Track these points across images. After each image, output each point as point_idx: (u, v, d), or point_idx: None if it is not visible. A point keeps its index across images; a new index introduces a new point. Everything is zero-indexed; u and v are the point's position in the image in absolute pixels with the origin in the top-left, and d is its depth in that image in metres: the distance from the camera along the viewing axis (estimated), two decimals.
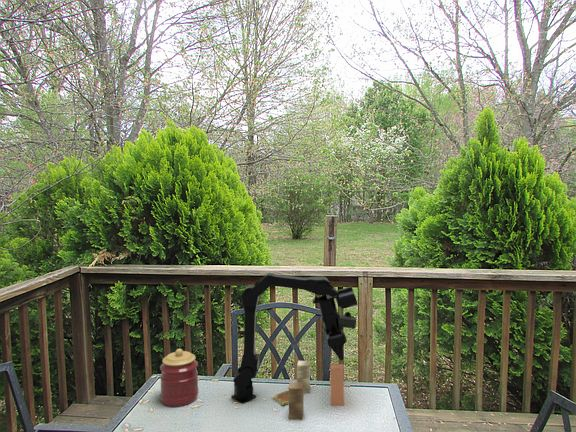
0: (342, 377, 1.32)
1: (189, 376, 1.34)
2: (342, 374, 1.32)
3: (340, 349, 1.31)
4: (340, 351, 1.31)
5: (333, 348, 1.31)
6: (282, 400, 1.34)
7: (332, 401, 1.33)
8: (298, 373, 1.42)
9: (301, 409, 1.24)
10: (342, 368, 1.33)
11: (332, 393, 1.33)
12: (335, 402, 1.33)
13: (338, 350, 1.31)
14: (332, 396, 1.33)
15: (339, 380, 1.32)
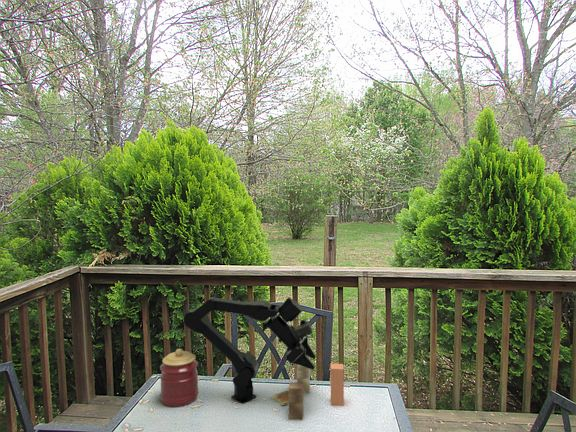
0: (342, 377, 1.32)
1: (189, 376, 1.34)
2: (342, 374, 1.32)
3: (305, 360, 1.30)
4: (306, 362, 1.30)
5: (298, 362, 1.30)
6: (282, 400, 1.34)
7: (332, 401, 1.33)
8: (298, 373, 1.42)
9: (301, 409, 1.24)
10: (342, 368, 1.33)
11: (332, 393, 1.33)
12: (335, 402, 1.33)
13: (304, 362, 1.30)
14: (332, 396, 1.33)
15: (339, 380, 1.32)
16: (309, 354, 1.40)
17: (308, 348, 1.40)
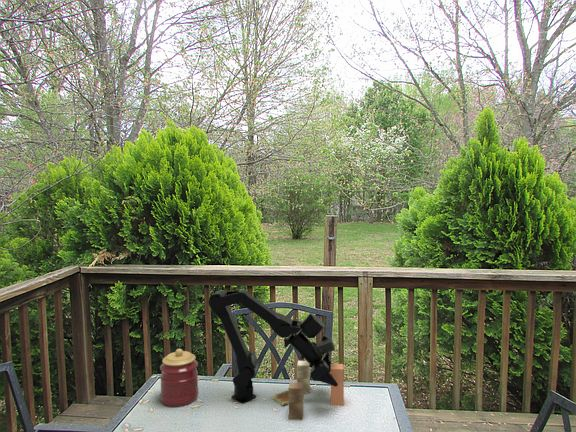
0: (342, 377, 1.32)
1: (189, 376, 1.34)
2: (342, 374, 1.32)
3: (329, 377, 1.29)
4: (330, 379, 1.29)
5: (322, 380, 1.29)
6: (282, 400, 1.34)
7: (332, 401, 1.33)
8: (298, 373, 1.42)
9: (301, 409, 1.24)
10: (342, 368, 1.33)
11: (332, 393, 1.33)
12: (335, 402, 1.33)
13: (327, 379, 1.29)
14: (332, 396, 1.33)
15: (339, 380, 1.32)
16: None
17: (330, 364, 1.40)
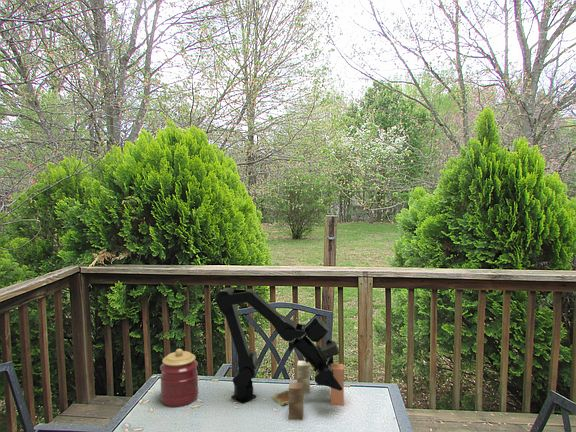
0: (342, 377, 1.32)
1: (189, 376, 1.34)
2: (342, 374, 1.32)
3: (333, 381, 1.29)
4: (334, 383, 1.29)
5: (326, 384, 1.29)
6: (282, 400, 1.34)
7: (332, 401, 1.33)
8: (298, 373, 1.42)
9: (301, 409, 1.24)
10: (342, 368, 1.33)
11: (332, 393, 1.33)
12: (335, 402, 1.33)
13: (332, 383, 1.29)
14: (332, 396, 1.33)
15: (339, 380, 1.32)
16: None
17: None
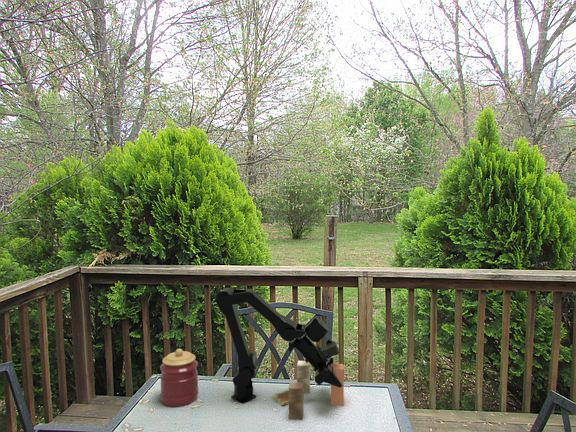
0: (342, 377, 1.32)
1: (189, 376, 1.34)
2: (342, 374, 1.32)
3: (333, 378, 1.31)
4: (334, 380, 1.31)
5: (326, 381, 1.31)
6: (282, 400, 1.34)
7: (332, 401, 1.33)
8: (298, 373, 1.42)
9: (301, 409, 1.24)
10: (342, 368, 1.33)
11: (332, 393, 1.33)
12: (335, 402, 1.33)
13: (332, 380, 1.31)
14: (332, 396, 1.33)
15: (339, 380, 1.32)
16: None
17: None
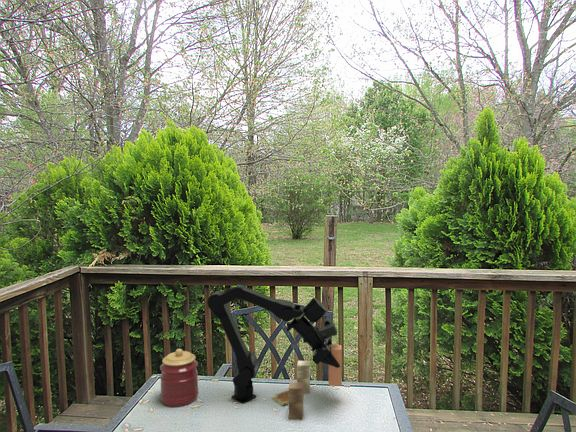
0: (340, 357, 1.32)
1: (189, 376, 1.34)
2: (340, 354, 1.32)
3: (331, 358, 1.31)
4: (332, 360, 1.31)
5: (324, 361, 1.31)
6: (282, 400, 1.34)
7: (330, 381, 1.33)
8: (298, 373, 1.42)
9: (301, 409, 1.24)
10: (340, 348, 1.33)
11: (330, 373, 1.33)
12: (333, 382, 1.33)
13: (330, 360, 1.31)
14: (330, 376, 1.33)
15: (337, 360, 1.32)
16: None
17: None
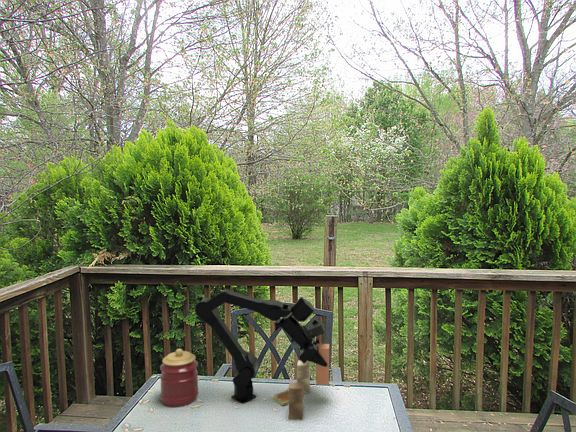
0: (327, 356, 1.33)
1: (190, 376, 1.34)
2: (327, 353, 1.33)
3: (318, 357, 1.32)
4: (320, 359, 1.32)
5: (311, 360, 1.31)
6: (282, 400, 1.34)
7: (317, 380, 1.33)
8: (298, 373, 1.42)
9: (301, 409, 1.24)
10: (328, 347, 1.33)
11: (317, 372, 1.33)
12: (320, 381, 1.33)
13: (317, 359, 1.32)
14: (317, 375, 1.33)
15: (324, 359, 1.33)
16: None
17: None
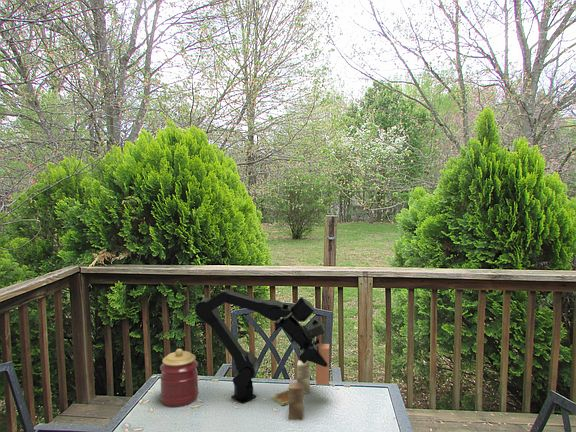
0: (327, 356, 1.33)
1: (189, 376, 1.34)
2: (327, 353, 1.33)
3: (318, 357, 1.32)
4: (320, 359, 1.32)
5: (311, 360, 1.31)
6: (282, 400, 1.34)
7: (317, 380, 1.33)
8: (298, 373, 1.42)
9: (301, 409, 1.24)
10: (328, 347, 1.33)
11: (317, 372, 1.33)
12: (320, 381, 1.33)
13: (317, 359, 1.32)
14: (317, 375, 1.33)
15: (324, 359, 1.33)
16: None
17: None
